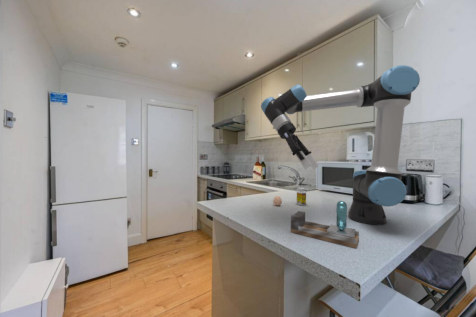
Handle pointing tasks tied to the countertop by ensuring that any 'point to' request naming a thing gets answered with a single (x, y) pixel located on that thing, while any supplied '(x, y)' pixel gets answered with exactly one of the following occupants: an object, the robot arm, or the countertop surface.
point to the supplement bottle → (301, 196)
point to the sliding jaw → (341, 222)
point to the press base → (319, 231)
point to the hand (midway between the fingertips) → (312, 167)
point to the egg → (277, 201)
